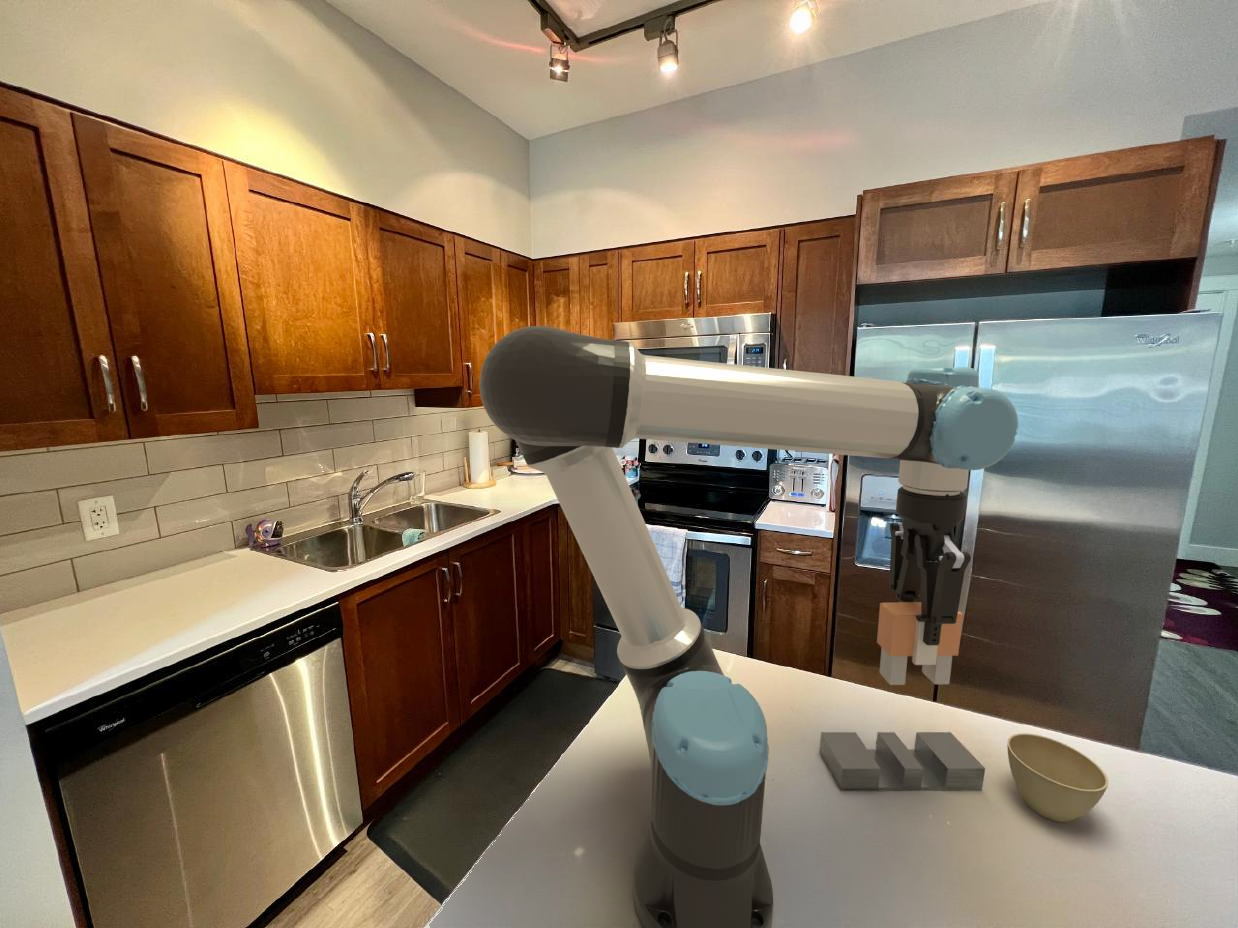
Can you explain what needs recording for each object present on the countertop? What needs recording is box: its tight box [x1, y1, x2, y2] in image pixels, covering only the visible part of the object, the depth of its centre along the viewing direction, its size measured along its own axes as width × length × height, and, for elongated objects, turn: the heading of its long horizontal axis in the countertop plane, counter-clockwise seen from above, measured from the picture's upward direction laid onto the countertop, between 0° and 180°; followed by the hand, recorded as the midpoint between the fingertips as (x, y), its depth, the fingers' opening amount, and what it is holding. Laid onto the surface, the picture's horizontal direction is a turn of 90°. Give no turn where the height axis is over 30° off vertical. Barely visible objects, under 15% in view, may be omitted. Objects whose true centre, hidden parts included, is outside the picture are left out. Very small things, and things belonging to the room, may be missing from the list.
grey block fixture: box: [818, 731, 986, 792], centre depth 71 cm, size 20×7×4 cm, turn 91°
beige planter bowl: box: [1006, 732, 1109, 823], centre depth 65 cm, size 10×10×7 cm
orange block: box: [876, 601, 964, 686], centre depth 66 cm, size 9×4×10 cm, turn 89°
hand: (914, 653), depth 67 cm, fingers closed on orange block, 3 cm apart
